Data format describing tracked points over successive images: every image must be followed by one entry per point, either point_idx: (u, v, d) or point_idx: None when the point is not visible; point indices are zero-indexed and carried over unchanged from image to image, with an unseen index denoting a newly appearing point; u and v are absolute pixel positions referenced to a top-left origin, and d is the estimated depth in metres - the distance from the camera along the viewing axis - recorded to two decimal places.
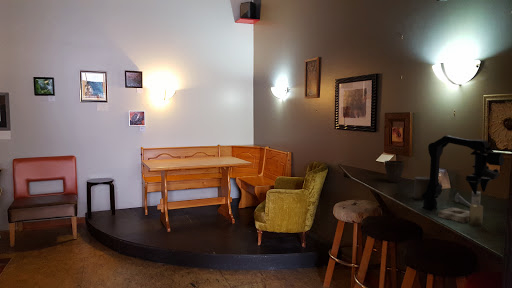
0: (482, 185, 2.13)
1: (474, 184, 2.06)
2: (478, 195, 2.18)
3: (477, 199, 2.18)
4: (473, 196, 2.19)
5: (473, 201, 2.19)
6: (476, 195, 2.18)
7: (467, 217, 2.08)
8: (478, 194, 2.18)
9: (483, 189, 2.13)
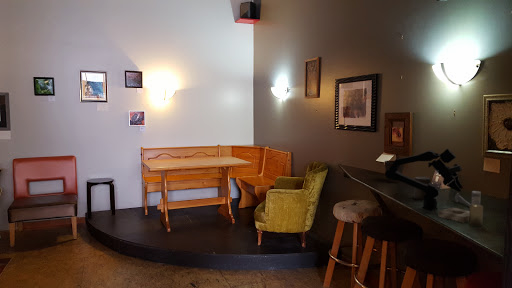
0: (457, 184, 2.29)
1: (453, 184, 2.21)
2: (478, 195, 2.18)
3: (477, 199, 2.18)
4: (473, 196, 2.19)
5: (473, 201, 2.19)
6: (476, 195, 2.18)
7: (467, 217, 2.08)
8: (478, 194, 2.18)
9: (460, 186, 2.28)
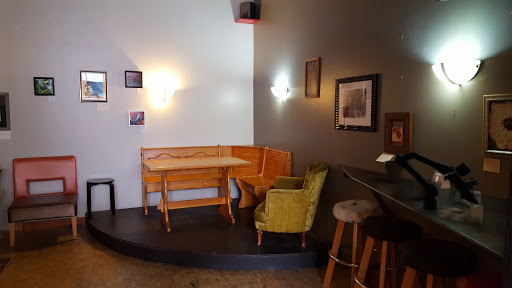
0: None
1: (470, 197, 2.19)
2: (478, 195, 2.18)
3: (477, 199, 2.18)
4: None
5: None
6: (476, 195, 2.18)
7: (467, 217, 2.08)
8: (478, 194, 2.18)
9: None
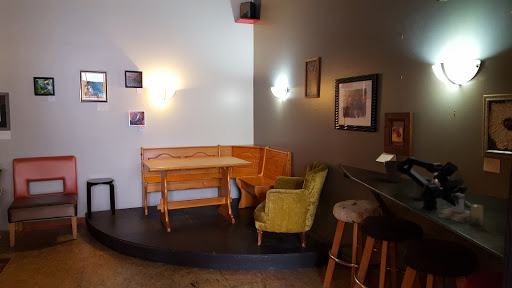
0: None
1: (448, 198, 2.15)
2: (457, 197, 2.13)
3: (457, 201, 2.14)
4: (454, 198, 2.15)
5: None
6: (456, 197, 2.14)
7: (467, 217, 2.08)
8: (457, 196, 2.13)
9: None
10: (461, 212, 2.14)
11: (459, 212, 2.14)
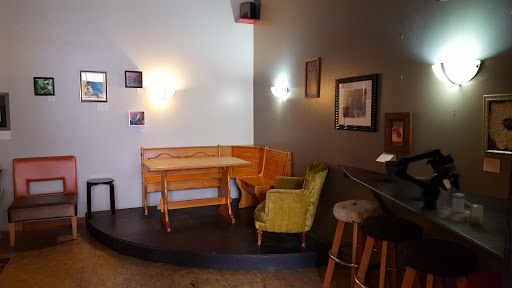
0: (455, 185, 2.25)
1: (440, 183, 2.22)
2: (457, 197, 2.13)
3: (457, 201, 2.14)
4: (454, 198, 2.15)
5: (454, 203, 2.16)
6: (456, 197, 2.14)
7: (467, 217, 2.08)
8: (457, 196, 2.13)
9: (457, 188, 2.24)
10: (461, 212, 2.14)
11: (459, 212, 2.14)
